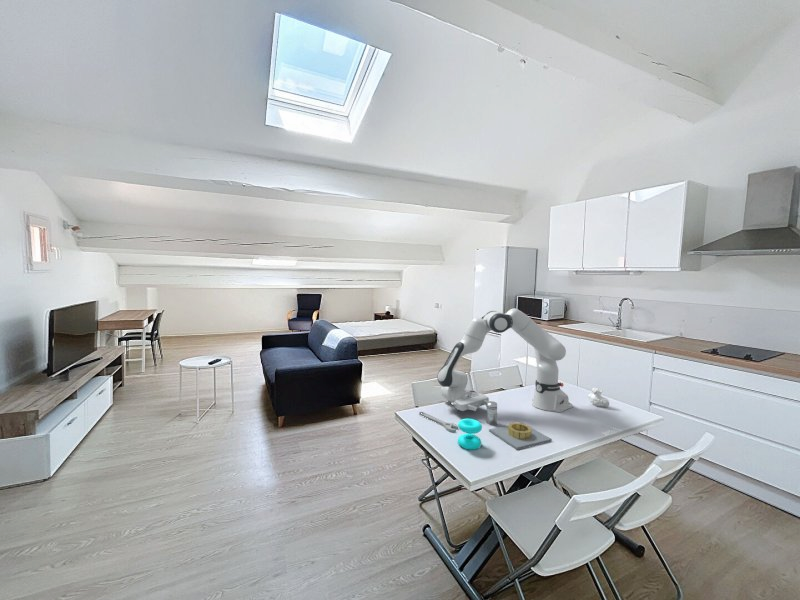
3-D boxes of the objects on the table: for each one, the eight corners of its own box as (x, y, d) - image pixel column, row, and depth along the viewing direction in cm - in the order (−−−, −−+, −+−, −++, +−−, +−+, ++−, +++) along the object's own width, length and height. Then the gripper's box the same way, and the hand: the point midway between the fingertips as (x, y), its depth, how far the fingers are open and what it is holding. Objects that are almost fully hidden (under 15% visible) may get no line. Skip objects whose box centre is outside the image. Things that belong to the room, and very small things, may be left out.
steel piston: (492, 419, 168) (492, 400, 167) (498, 424, 164) (499, 404, 163) (484, 421, 166) (484, 402, 165) (490, 425, 162) (491, 405, 161)
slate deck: (521, 424, 164) (521, 422, 164) (551, 441, 147) (551, 438, 147) (489, 431, 156) (489, 429, 156) (516, 449, 139) (516, 447, 139)
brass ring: (520, 427, 158) (520, 421, 158) (536, 436, 149) (536, 430, 149) (503, 431, 154) (503, 424, 154) (518, 441, 145) (519, 434, 145)
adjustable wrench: (417, 415, 174) (417, 412, 174) (427, 412, 177) (427, 409, 177) (451, 433, 153) (451, 430, 153) (461, 430, 157) (461, 426, 157)
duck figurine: (587, 405, 195) (580, 392, 192) (595, 396, 197) (587, 383, 194) (607, 413, 184) (599, 399, 181) (614, 403, 186) (607, 389, 183)
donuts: (453, 420, 144) (470, 415, 149) (452, 442, 145) (470, 437, 150) (469, 429, 135) (487, 424, 140) (468, 453, 136) (486, 447, 141)
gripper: (449, 396, 175) (468, 405, 163) (477, 389, 186) (496, 397, 175) (449, 408, 175) (468, 417, 164) (476, 400, 187) (496, 409, 175)
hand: (483, 407), depth 169 cm, fingers open, 8 cm apart
